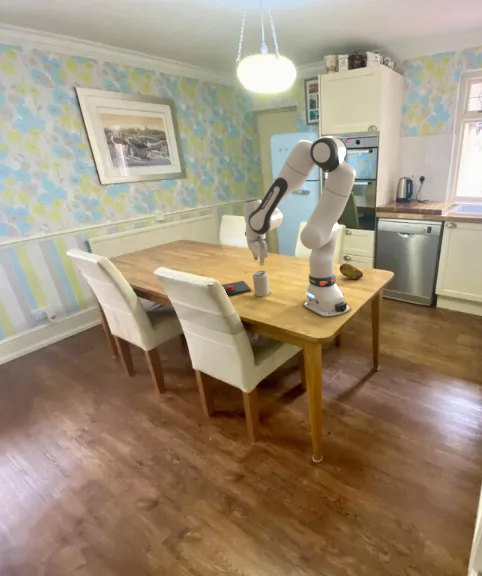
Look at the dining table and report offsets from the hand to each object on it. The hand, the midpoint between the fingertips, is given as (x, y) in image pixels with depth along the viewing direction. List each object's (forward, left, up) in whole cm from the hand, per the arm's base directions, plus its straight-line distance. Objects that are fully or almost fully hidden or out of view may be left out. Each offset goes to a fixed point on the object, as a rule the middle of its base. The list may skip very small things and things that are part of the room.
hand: (258, 262), depth 156 cm
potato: (-4, -51, -17) cm, 54 cm away
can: (0, 0, -17) cm, 17 cm away
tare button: (+9, +14, -15) cm, 22 cm away
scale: (+14, +10, -17) cm, 24 cm away
